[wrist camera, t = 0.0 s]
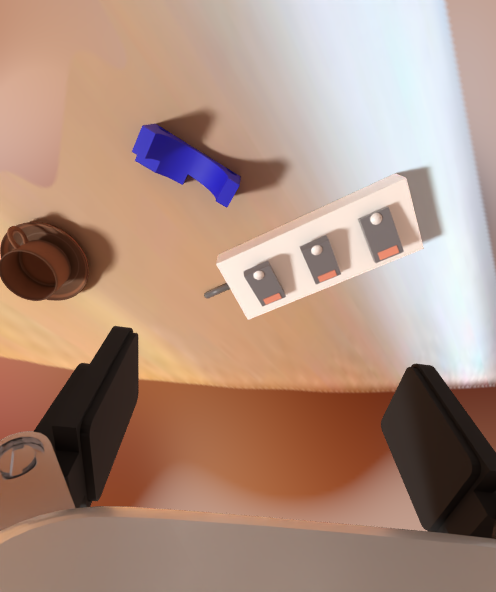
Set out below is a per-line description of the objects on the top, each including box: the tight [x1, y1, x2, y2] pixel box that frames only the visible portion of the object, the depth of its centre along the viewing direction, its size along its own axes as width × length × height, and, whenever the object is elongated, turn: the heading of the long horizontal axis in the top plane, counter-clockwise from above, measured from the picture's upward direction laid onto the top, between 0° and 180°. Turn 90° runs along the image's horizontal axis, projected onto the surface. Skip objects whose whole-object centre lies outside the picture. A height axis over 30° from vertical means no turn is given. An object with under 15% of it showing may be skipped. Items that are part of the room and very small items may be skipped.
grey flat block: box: [243, 261, 286, 307], centre depth 46 cm, size 6×4×1 cm, turn 25°
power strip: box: [204, 173, 424, 320], centre depth 48 cm, size 10×31×4 cm, turn 116°
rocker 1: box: [300, 235, 341, 284], centre depth 44 cm, size 6×4×1 cm, turn 25°
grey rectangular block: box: [358, 207, 404, 263], centre depth 43 cm, size 6×4×1 cm, turn 26°
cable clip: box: [132, 124, 241, 207], centre depth 41 cm, size 12×4×6 cm, turn 59°
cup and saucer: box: [0, 222, 89, 301], centre depth 47 cm, size 12×12×6 cm
